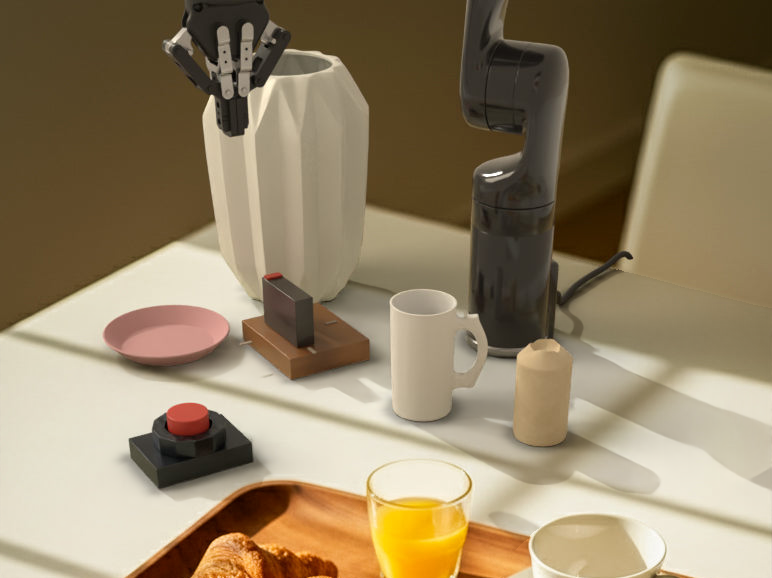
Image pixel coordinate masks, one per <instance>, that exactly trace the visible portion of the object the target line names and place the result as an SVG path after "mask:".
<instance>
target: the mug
mask: <svg viewBox="0 0 772 578" xmlns="http://www.w3.org/2000/svg"><path fill="white" fill-rule="evenodd" d="M389 305H390V306H389V308H390V309H389V310H390V311H389V316H390V317H389V324H390V325H389V327H390V328H389V329H390V332H389V333H390V334H389V335H390V366H391V367H390V371H391V373H390V374H391V398H392V400H391V401H392V402H391V404H392V410H393V412H394V413H395V414H396V416H399V417H400V418H402V419H405V420H408V421H413V422H433V421H437V420H440V419H443V418H445V417H446V416H448V415H449V414H450V412H451V410H452V406H453V405H452V403H453V392H454V390H456V389H460V388H461V389H462V388H465V389H472V388H473V387H474V386H475V385H476V383H477V380H478V378H479V376H480V374H481V373H482V370H483V368H484V366H485V364H486V360H487V357H488V354H487V352H488V343H487V338H486V335H485V332H484V330H483V327H482V325H481V323H480V321H479V316H478V314H467V315H466V316H465V317H464V316H459V315H458V313H457V308H458V307H457V306H458V300H457V298H455V297H454V295H452V294H449V292H446V291H445V292H444V291H441V290H438V289H437V290H435V289H430V288H429V289H428V288H415V289H408V290H405V291H404V290H403V291H401V292H398V293H396V294H395V295H393V296H392V297H390V299H389ZM460 330H465V331H466V330H468V331H470V332H471V333H472V334H473V335H474V337H475V339H476V341H477V345H478V351H477V353H476V357H475V360H474V362H473V365H472V366H471V368H469V369H468V370H467V371H465V372H459V371H456V370H455V366H454V365H455V348H456V347H455V346H456V345H455V344H456V333H457V332H458V331H460Z"/></svg>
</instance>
